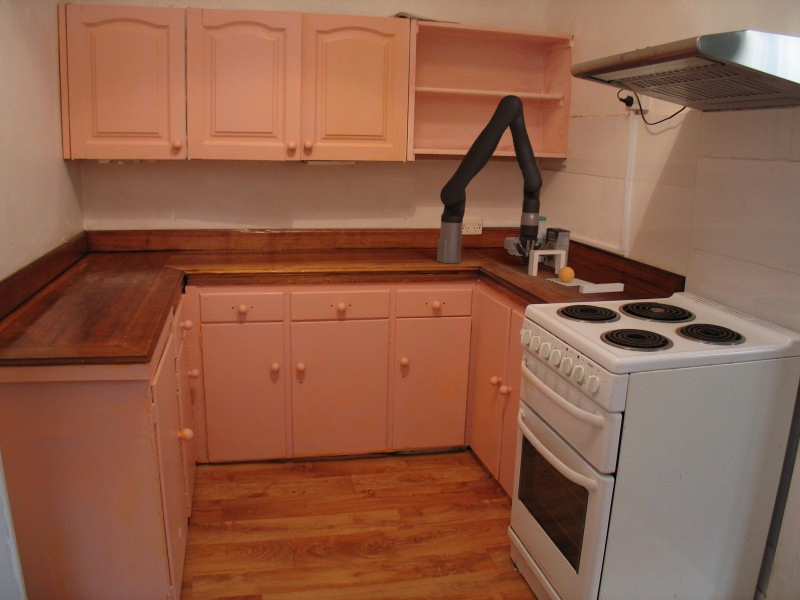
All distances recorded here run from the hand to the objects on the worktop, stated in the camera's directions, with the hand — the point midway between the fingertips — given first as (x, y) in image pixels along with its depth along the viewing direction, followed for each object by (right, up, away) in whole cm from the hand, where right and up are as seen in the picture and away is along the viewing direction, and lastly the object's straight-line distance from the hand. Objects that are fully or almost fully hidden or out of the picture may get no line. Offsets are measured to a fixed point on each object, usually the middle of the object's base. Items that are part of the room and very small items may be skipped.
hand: (526, 265), depth 281 cm
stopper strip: (+19, -12, -41) cm, 47 cm away
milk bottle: (+9, +3, +21) cm, 23 cm away
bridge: (+6, -4, -12) cm, 14 cm away
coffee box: (+14, 0, +10) cm, 17 cm away
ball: (+10, -5, -28) cm, 30 cm away
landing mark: (+12, -8, -25) cm, 29 cm away
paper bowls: (+4, +6, +37) cm, 38 cm away
